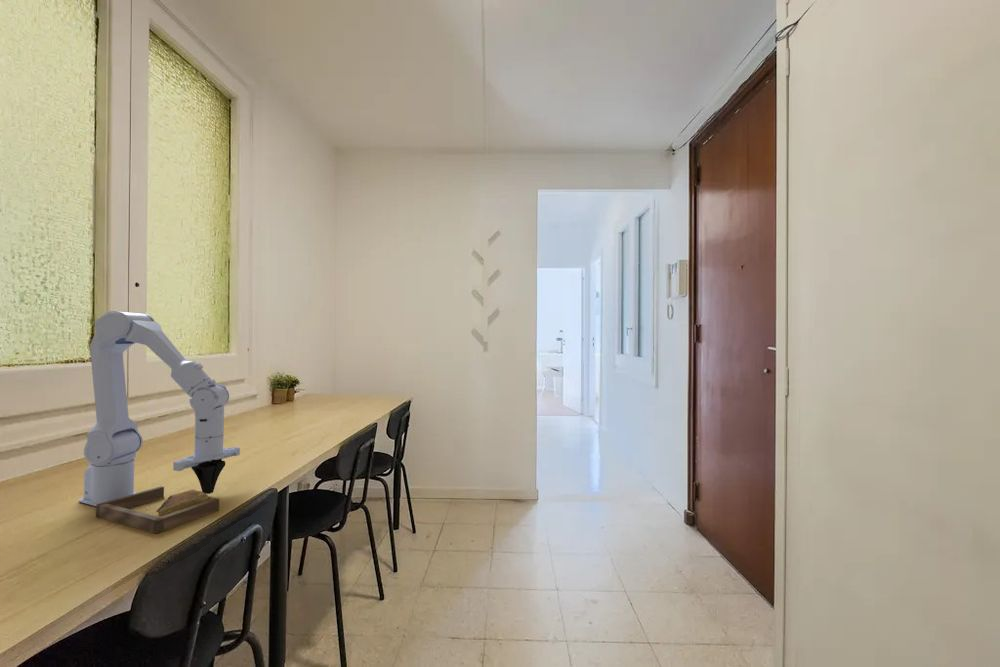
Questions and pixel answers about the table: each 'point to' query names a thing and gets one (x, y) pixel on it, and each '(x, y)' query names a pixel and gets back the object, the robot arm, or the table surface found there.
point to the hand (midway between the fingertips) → (207, 492)
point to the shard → (181, 501)
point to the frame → (121, 514)
